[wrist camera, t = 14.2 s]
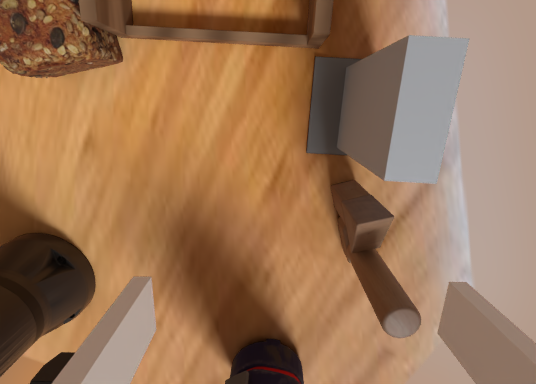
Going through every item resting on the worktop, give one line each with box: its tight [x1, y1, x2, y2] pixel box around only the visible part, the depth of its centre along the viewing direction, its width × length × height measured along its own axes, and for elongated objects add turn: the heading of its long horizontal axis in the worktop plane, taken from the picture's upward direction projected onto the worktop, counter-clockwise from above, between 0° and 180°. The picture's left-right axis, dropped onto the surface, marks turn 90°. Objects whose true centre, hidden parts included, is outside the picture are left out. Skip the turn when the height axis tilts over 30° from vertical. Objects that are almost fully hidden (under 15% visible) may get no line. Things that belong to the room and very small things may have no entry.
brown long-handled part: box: [331, 180, 421, 338], centre depth 34 cm, size 4×11×18 cm, turn 14°
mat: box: [307, 57, 362, 155], centre depth 39 cm, size 12×12×1 cm
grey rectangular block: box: [337, 35, 469, 184], centre depth 30 cm, size 10×4×18 cm, turn 177°
